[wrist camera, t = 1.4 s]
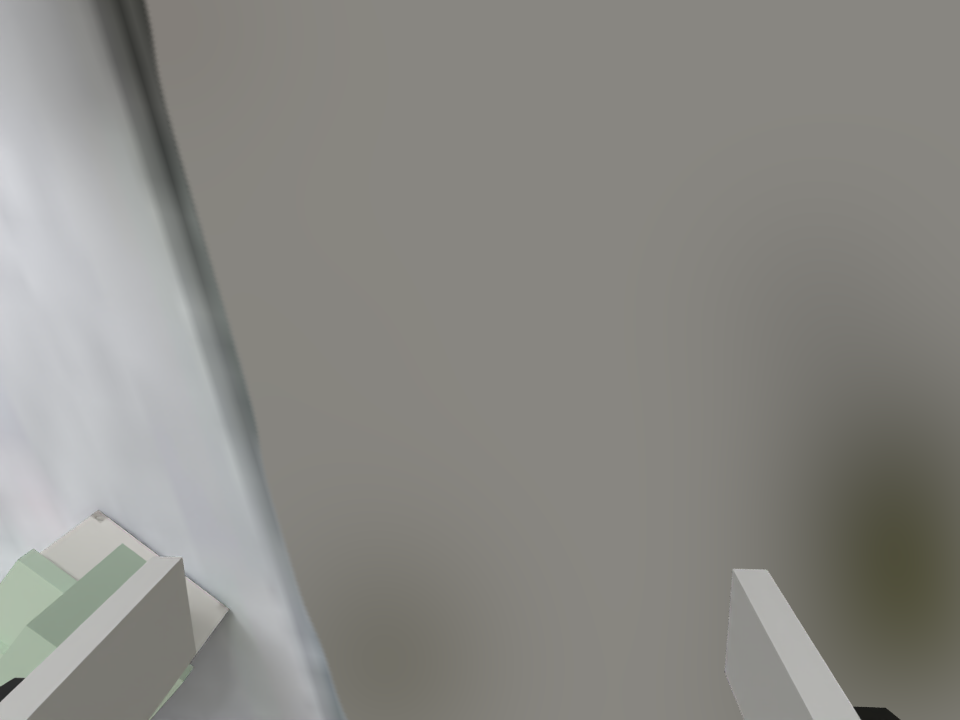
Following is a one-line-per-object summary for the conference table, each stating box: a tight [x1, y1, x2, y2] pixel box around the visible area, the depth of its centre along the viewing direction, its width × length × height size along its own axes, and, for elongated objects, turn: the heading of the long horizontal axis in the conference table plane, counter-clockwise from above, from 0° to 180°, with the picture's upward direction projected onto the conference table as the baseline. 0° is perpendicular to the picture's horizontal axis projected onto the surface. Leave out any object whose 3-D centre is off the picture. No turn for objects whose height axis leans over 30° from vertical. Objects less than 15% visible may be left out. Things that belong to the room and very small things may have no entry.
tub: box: [40, 510, 229, 663], centre depth 44 cm, size 11×16×6 cm
